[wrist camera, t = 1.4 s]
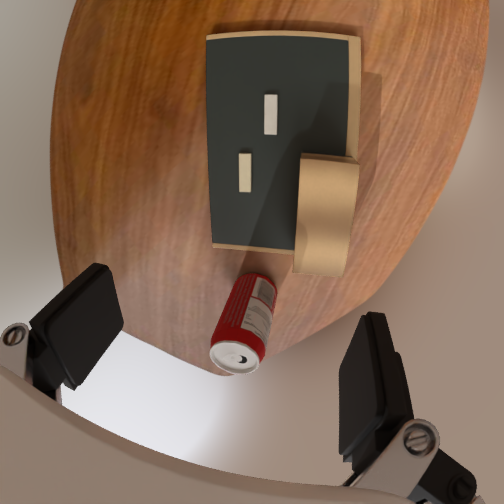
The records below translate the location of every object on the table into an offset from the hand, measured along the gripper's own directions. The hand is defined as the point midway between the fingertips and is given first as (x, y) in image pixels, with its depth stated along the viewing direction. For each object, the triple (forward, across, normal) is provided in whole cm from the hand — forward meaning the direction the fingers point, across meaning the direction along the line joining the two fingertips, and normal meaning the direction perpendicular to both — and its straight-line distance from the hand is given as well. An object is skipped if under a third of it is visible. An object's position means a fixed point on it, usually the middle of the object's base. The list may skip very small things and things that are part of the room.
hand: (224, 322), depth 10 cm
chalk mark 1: (+20, +4, -1) cm, 21 cm away
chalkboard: (+21, 0, -4) cm, 22 cm away
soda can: (+22, +2, +14) cm, 26 cm away
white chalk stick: (+20, +2, -7) cm, 21 cm away
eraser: (+20, -5, +2) cm, 21 cm away
